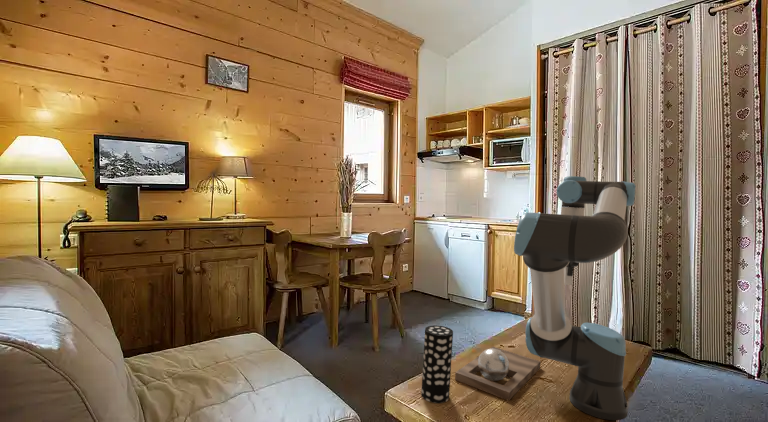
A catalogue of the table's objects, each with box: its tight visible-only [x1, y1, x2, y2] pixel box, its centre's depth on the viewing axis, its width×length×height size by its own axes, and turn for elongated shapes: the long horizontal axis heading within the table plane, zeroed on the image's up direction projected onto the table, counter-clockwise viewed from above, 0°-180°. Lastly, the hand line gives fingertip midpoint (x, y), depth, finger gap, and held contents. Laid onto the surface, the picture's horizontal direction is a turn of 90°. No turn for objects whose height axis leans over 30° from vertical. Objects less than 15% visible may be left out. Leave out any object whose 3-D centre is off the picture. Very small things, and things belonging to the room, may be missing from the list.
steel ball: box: [478, 347, 509, 382], centre depth 127 cm, size 10×10×10 cm
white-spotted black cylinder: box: [420, 324, 454, 404], centre depth 114 cm, size 8×8×20 cm
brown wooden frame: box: [454, 346, 542, 401], centre depth 131 cm, size 30×18×2 cm, turn 141°
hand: (567, 284), depth 138 cm, fingers closed
